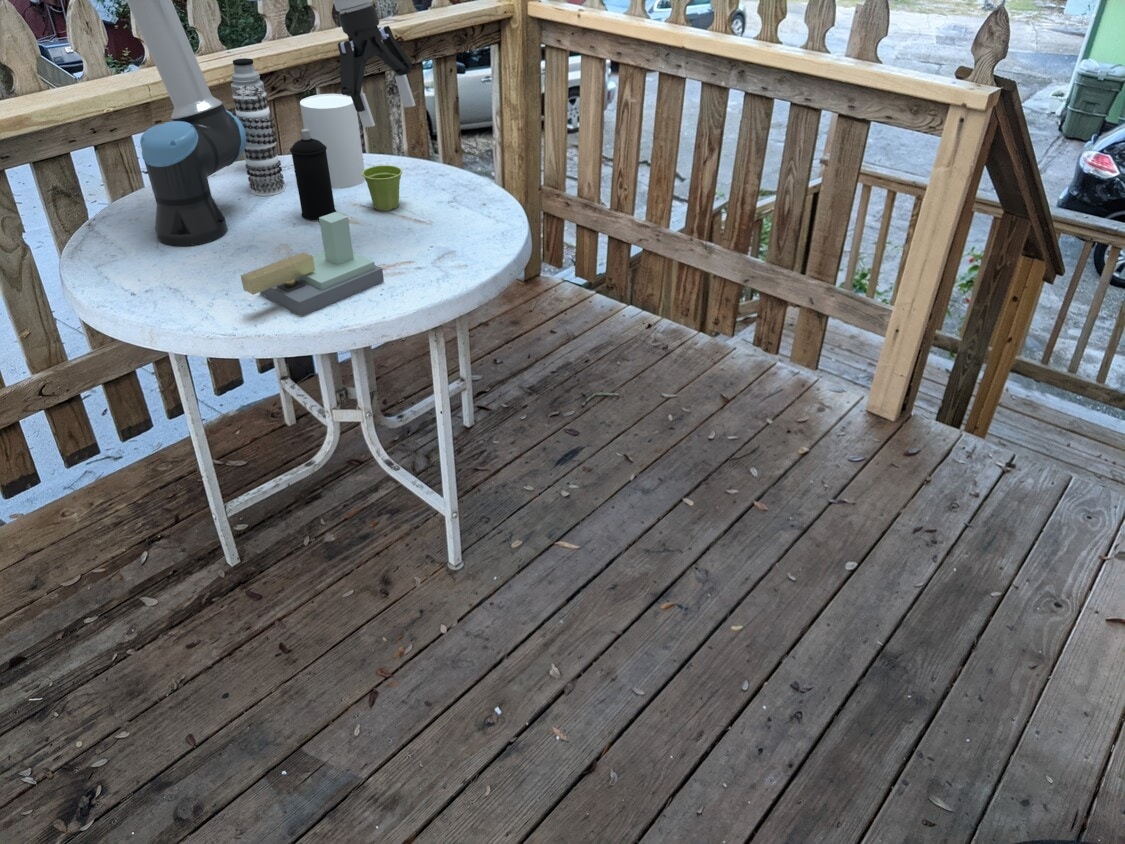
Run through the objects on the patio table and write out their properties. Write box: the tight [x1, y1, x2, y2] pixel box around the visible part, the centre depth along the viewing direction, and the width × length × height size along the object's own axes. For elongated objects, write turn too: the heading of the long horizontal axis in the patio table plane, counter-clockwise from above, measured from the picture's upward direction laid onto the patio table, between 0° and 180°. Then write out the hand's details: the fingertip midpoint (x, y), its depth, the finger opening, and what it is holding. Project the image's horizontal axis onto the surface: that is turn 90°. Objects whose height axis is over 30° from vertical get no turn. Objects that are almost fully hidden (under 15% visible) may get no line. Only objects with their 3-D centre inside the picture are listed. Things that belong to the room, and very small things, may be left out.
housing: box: [259, 264, 385, 317], centre depth 172 cm, size 14×20×3 cm
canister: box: [299, 93, 366, 190], centre depth 218 cm, size 14×14×20 cm
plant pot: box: [362, 164, 403, 211], centre depth 207 cm, size 9×9×9 cm
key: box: [240, 251, 315, 296], centre depth 164 cm, size 3×14×5 cm, turn 139°
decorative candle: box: [231, 86, 286, 197], centre depth 210 cm, size 9×9×25 cm
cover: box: [297, 212, 376, 290], centre depth 170 cm, size 12×13×10 cm
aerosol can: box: [289, 128, 338, 221], centre depth 199 cm, size 8×8×20 cm
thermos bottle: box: [230, 57, 272, 156], centre depth 222 cm, size 8×8×28 cm
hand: (390, 116), depth 181 cm, fingers open, 13 cm apart
